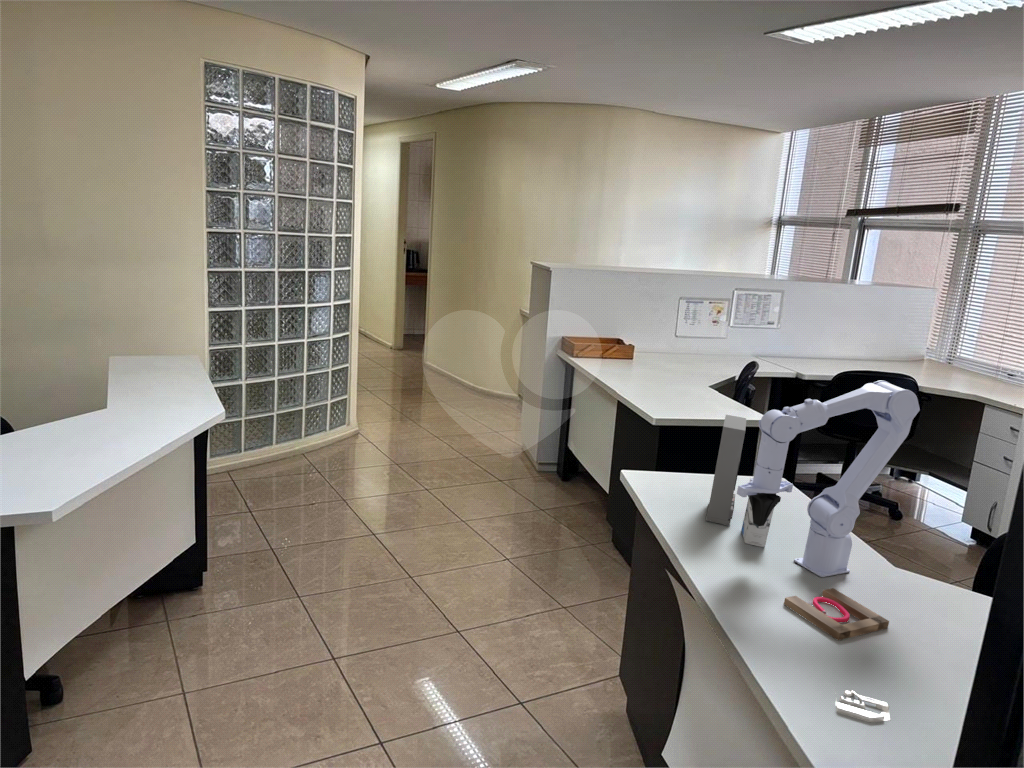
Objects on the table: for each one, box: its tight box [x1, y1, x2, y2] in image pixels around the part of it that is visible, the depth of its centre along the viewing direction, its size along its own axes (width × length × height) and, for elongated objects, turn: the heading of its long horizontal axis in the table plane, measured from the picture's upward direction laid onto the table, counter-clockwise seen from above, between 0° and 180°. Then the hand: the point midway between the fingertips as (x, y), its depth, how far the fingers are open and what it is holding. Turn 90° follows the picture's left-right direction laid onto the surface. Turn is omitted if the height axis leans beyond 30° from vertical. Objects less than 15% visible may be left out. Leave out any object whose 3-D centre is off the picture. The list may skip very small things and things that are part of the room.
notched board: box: [783, 587, 890, 641], centre depth 141 cm, size 14×13×2 cm
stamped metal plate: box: [834, 688, 891, 723], centre depth 114 cm, size 8×7×2 cm
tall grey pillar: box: [705, 414, 747, 526], centre depth 185 cm, size 14×6×25 cm, turn 161°
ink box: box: [741, 497, 775, 548], centre depth 173 cm, size 9×5×12 cm, turn 168°
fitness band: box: [811, 596, 851, 623], centre depth 143 cm, size 8×6×2 cm
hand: (758, 524), depth 159 cm, fingers closed
